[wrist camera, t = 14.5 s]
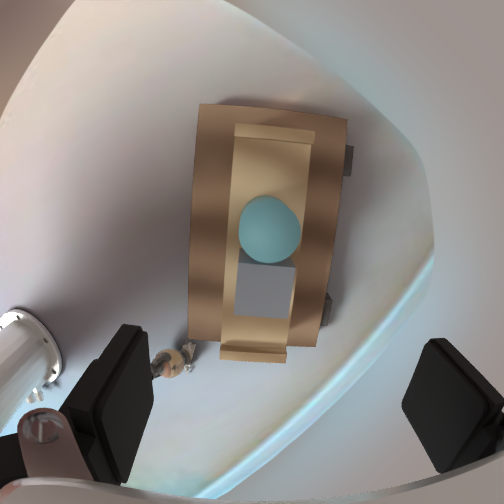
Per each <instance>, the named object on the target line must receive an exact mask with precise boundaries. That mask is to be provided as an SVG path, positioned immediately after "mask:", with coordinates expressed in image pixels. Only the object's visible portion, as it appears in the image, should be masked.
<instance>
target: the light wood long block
mask: <svg viewBox="0 0 504 504" xmlns="http://www.w3.org/2000/svg"><path fill="white" fill-rule="evenodd" d="M234 136H235V141H234V152H233V164H232V176H231V189H230V202H229V216H228V230H227V244H226V260H225V276H224V293H223V311H222V330H221V347H220V359H221V360H234V361H249V362H268V363H286V358H287V352H286V344H287V338H288V332H289V325H290V319H291V312H292V305H293V298H294V291H295V284H296V277H297V270H298V262H299V254H300V246H301V238H302V230H303V221H304V212H305V203H306V194H307V184H308V174H309V164H310V153H311V145H313V144H314V137H315V131H308V130H301V129H293V128H284V127H275V126H265V125H254V124H241V123H235V134H234ZM263 195H268V196H273V197H276V198H278V199H279V200H281V201H282V202H283V203H284V204H285V205H286V206H287V207H288V208H289V209H291V210H292V211H293V213H294V214H295V215H296V217H297V219H298V221H299V223H300V228H301V237H300V241H299V244H298V246H297V248H296V249H295V251H294V252H293V253H292V254H291V255H290V257H291V259H292V261H293V263H294V265H295V267H296V269H295V276H294V282H293V289H292V295H291V302H290V308H289V314H288V319H281V318H267V317H254V316H242V315H234V303H235V292H236V281H237V270H238V259H239V248H242V246H241V244H240V240H239V224H240V216H241V212H242V210H243V208H244V206H245V205H246V204H247V203H248V202H249V201H250V200H252V199H253V198H255V197H258V196H263Z"/></svg>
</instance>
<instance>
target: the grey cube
mask: <svg viewBox="0 0 504 504" xmlns="http://www.w3.org/2000/svg"><path fill="white" fill-rule="evenodd" d="M295 269H296V267H295V265H294V263H293V261H292V259H291V257H290V256H289V257H287V258H286V259H284V260H282V261H279V262H275V263H263V262H259V261H257V260H255V259H253V258H251V257H250V256H249V255H248V254H247V253H246V252H245V251H244V249H243V248H239V259H238V270H237V281H236V292H235V303H234V315H242V316H254V317H267V318H281V319H288V314H289V308H290V302H291V295H292V289H293V282H294V276H295Z"/></svg>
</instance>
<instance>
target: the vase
mask: <svg viewBox="0 0 504 504" xmlns="http://www.w3.org/2000/svg"><path fill="white" fill-rule="evenodd" d="M155 335H156V334H155ZM186 342H187V341H186ZM186 342H185V344H186ZM195 346H196V344H193V343H192V342H189V343H188V344H187V345H185V346H184V345H183V348H181V349H180V350H179V351H178V350H175V349H165V350H162V351H160V352H159V353H158V354H157V355H156V357H155V359H153V361H152V363H151V364H150V368H151V377H152V380H153V379H154V378H157V377H160V376H163V377H166V378H172V377H175V376H177V375H179V374H180V373H181V372H183V371H182V370H183V369H184V368H186V371H187V374H188V371H189V369H188V368H187V366H189V367H190V364H191V360H192V357H193V353H194V350H195ZM186 371H185V372H186Z"/></svg>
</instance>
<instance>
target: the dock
mask: <svg viewBox="0 0 504 504" xmlns="http://www.w3.org/2000/svg"><path fill="white" fill-rule="evenodd" d="M235 123H241V124H254V125H265V126H275V127H284V128H293V129H301V130H308V131H315V137H314V144H313V145H311V153H310V164H309V174H308V184H307V194H306V203H305V212H304V221H303V230H302V238H301V246H300V254H299V262H298V270H297V277H296V284H295V291H294V298H293V305H292V312H291V319H290V325H289V332H288V338H287V344H286V346H303V347H316V342H317V337H318V332H319V327H320V325H327V324H328V319H329V315H330V310H331V304H332V299H331V298H330V296H329V295H328V293H326V290H327V285H328V279H329V273H330V267H331V260H332V254H333V247H334V241H335V234H336V226H337V219H338V211H339V203H340V195H341V186H342V177H343V176H351V169H352V159H353V148H354V147H353V146H348V145H346V134H347V120H346V119H341V118H335V117H329V116H323V115H317V114H310V113H303V112H296V111H288V110H279V109H270V108H260V107H248V106H235V105H217V104H200V106H199V115H198V125H197V136H196V147H195V159H194V173H193V187H192V203H191V222H190V245H189V279H188V339H196V340H206V341H217V342H221V330H222V311H223V293H224V276H225V260H226V244H227V230H228V216H229V202H230V189H231V176H232V164H233V152H234V141H235V136H234V134H235Z"/></svg>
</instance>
